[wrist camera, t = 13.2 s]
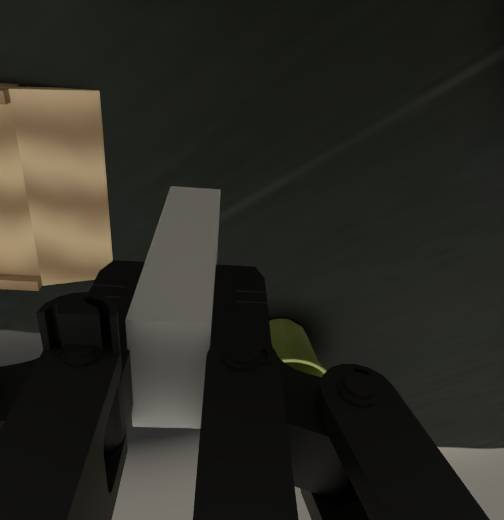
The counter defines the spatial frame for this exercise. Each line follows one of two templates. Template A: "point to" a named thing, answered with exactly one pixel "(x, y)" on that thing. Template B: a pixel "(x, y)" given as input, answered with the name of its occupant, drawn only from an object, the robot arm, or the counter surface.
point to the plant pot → (294, 346)
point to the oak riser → (51, 187)
